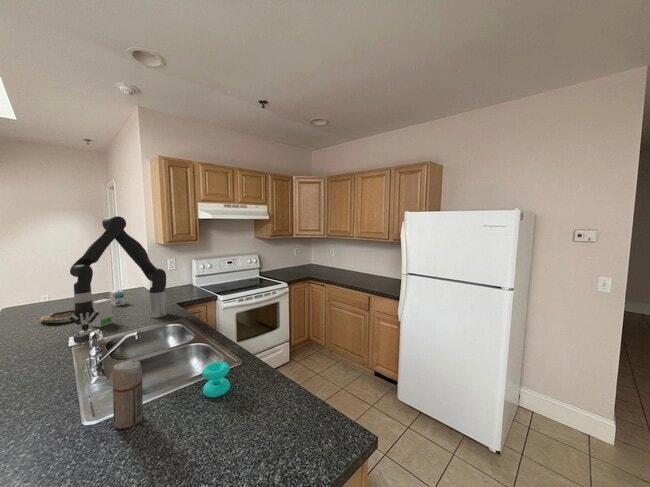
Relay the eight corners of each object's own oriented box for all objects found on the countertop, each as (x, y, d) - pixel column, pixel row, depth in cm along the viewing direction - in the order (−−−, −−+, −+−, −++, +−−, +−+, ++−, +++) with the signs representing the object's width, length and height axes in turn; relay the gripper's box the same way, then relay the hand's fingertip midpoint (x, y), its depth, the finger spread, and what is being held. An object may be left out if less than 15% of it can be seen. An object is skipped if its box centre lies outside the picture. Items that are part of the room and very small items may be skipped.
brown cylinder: (124, 412, 95) (120, 357, 93) (149, 411, 95) (146, 357, 94) (107, 431, 86) (103, 371, 85) (134, 430, 87) (130, 370, 85)
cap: (92, 335, 156) (91, 327, 155) (92, 338, 152) (92, 330, 151) (79, 337, 152) (79, 330, 151) (79, 340, 148) (79, 333, 148)
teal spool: (218, 357, 113) (234, 364, 108) (219, 380, 114) (235, 388, 109) (196, 368, 105) (212, 376, 99) (197, 393, 106) (213, 402, 100)
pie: (91, 310, 200) (91, 303, 200) (94, 321, 180) (94, 313, 180) (36, 319, 181) (35, 312, 180) (32, 332, 161) (32, 324, 161)
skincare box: (100, 327, 168) (98, 302, 167) (91, 326, 169) (89, 302, 168) (113, 322, 176) (111, 299, 175) (104, 321, 177) (103, 298, 176)
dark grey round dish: (101, 331, 162) (101, 325, 161) (103, 339, 151) (102, 333, 151) (69, 338, 152) (69, 332, 152) (68, 347, 142) (68, 340, 142)
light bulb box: (125, 304, 213) (124, 290, 212) (115, 306, 208) (114, 292, 207) (119, 302, 219) (118, 288, 218) (109, 304, 213) (108, 290, 212)
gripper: (98, 296, 157) (100, 325, 158) (67, 301, 148) (69, 331, 150) (99, 299, 151) (101, 329, 153) (66, 304, 143) (68, 336, 144)
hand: (85, 330), depth 151 cm, fingers closed
